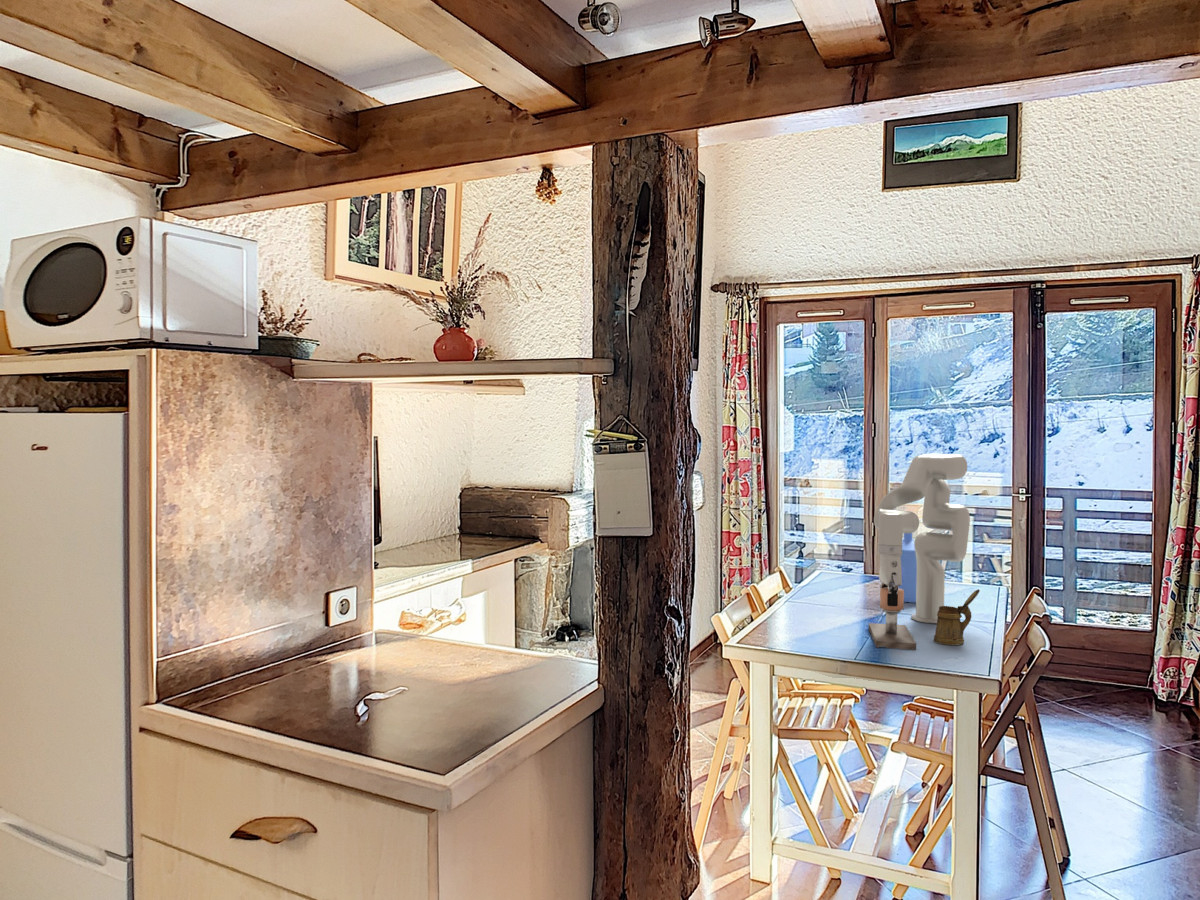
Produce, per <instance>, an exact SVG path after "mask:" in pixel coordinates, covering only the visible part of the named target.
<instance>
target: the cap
mask: <svg viewBox="0 0 1200 900" xmlns="http://www.w3.org/2000/svg"><path fill="white" fill-rule="evenodd" d="M887 593H888V594H889V592H888V587H887V588H880V589H879V608H880V609H882V610H883V609H886V610H901V611H903V610H905V609H904V607H905V605H904V603H905V602H904V590H903V589H899V588H898V606H888V605H887Z"/></svg>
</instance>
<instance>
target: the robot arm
mask: <svg viewBox="0 0 1200 900" xmlns="http://www.w3.org/2000/svg"><path fill="white" fill-rule="evenodd" d="M966 459H967V458H966V457H964V455H961V454H950V453H949V454H945V453H943V454H942V453H923V454H920V455H917V456H915V457H913V459H912V460H911V462H910V464H909V467H908V469H907V471H906V474H905V476H904V477H903V480H902V483H901V484H900V485H899V486H897V487H896V488H894V489H893V490H890V491H889V492H888V493H886V494H885V495H883V497H882V499H881V500H880V502H879V504H878V505H877V508H876V510H875V513H874V516H873V523H874V526H875V528H876V529H877V530H878V533H877V535H878V538H877V539H878V541H877V542H878V543H877V554H878V555H879V556H880V557H879V566H878V567H879V569H878V572H879V573H878V574H879V575H878V579H879V581H880V586H879V587H880V589H881V588H887V587H888V592H889V594H888V593H887V605H888V606H898V586H901V585H902V569H901V557H900V556H901V555H902V540H903V538H904V533H906V534H910V533H912V534H913V533H915V532H916V531H917V530H918V529H919V525H920V518H919V516H918V515H917V514H916V513H915V512H913V511H910V510H901V509H900V510H899V509H897V508H898V507H901V506H903V505H904V506H905V505H906V504H910V503H914V502H917V501H920V500H922V499H924V500H923V508H922V518H921V520H922V525H923V526H924V528H925V527H926V528H927V529H932V530H938V531H939V530H940V531H950V532H952V534H951V533H950V534H948V533H941V532H931V531H929V532H928V531H927V532H926V531H925V532H921V533H919V534H917V535H916V537H915V538H914V540H913V541H914V548H915V554H916V563H917V578H916V603H915V612H914V613H911V614H910V616H911V617H910V618H911V619H912V620H913V621H916V622H919V623H926V624H937V619H938V616H937V612H938V611H939V607H940V606H945V589H946V588H945V582H946V580H945V579H946V572H945V569H944V567H943V565H942V564H941V562H940V561H946V562H952V563H953V562H954V563H959V562H962V561H963V560H965V557H966V554H967V549H968V542H969V532H970V523H971V517H970V512H969V510H968V508H967V507H966V506H965V505H962V504H952V503H950V498H951V489H950V487H949V485H948V483H946V481H953V480H960V479H962V478H963V477H965V475H966V473H967V472H968V462H967V460H966ZM891 587H892V588H891Z"/></svg>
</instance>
